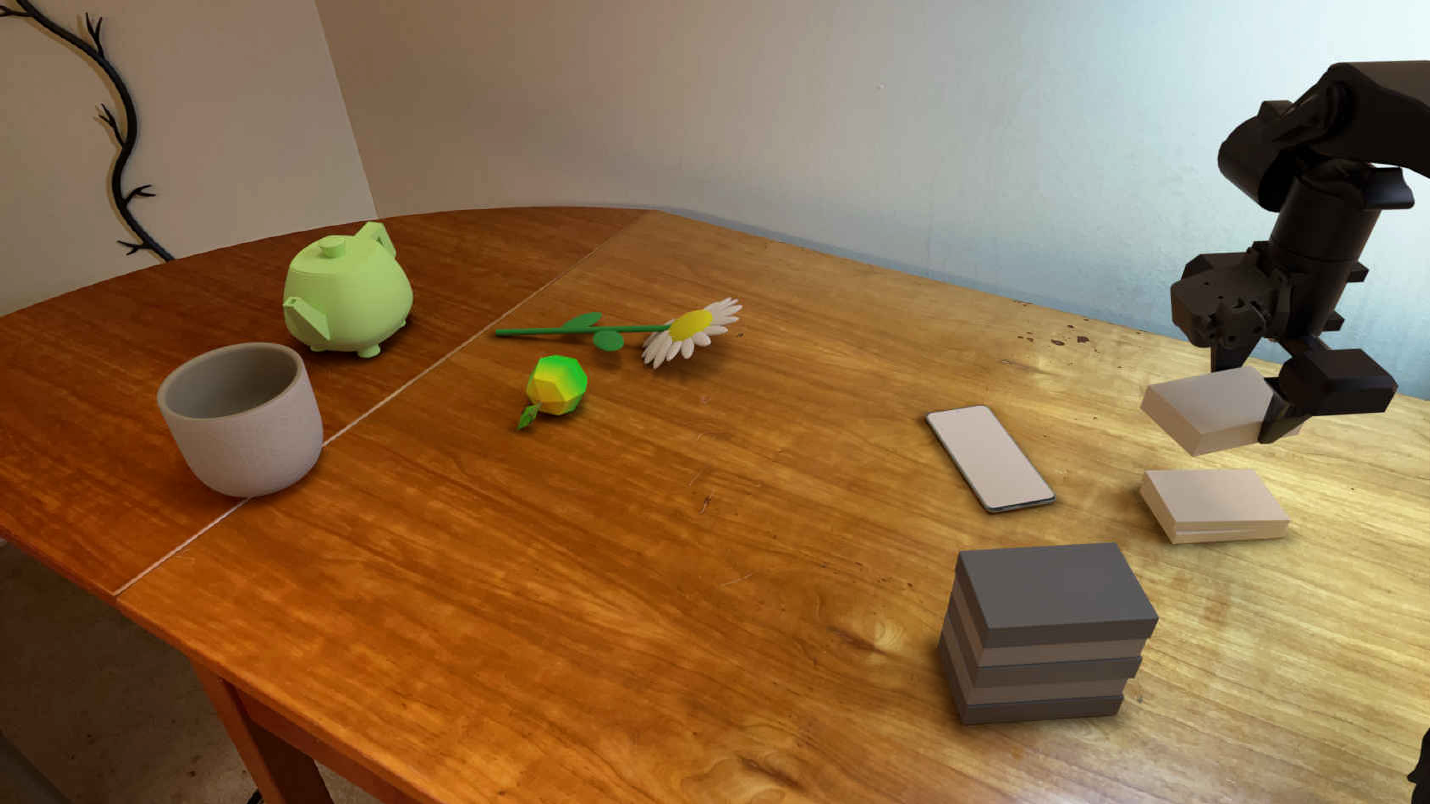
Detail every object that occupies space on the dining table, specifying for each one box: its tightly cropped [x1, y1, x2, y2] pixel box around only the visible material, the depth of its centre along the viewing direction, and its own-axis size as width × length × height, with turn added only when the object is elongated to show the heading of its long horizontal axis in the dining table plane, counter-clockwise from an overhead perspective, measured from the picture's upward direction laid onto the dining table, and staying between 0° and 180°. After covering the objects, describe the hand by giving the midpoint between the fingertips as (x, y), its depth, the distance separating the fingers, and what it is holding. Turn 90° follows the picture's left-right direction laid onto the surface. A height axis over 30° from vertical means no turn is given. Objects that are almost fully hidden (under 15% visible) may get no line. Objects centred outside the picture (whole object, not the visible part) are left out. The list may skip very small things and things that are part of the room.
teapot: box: [282, 221, 414, 359], centre depth 105 cm, size 20×13×13 cm
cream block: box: [1139, 365, 1305, 458], centre depth 73 cm, size 6×10×2 cm, turn 106°
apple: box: [517, 354, 588, 430], centre depth 95 cm, size 7×6×9 cm
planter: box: [156, 341, 324, 498], centre depth 86 cm, size 12×12×11 cm
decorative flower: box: [495, 297, 743, 370], centre depth 105 cm, size 13×5×30 cm
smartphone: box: [925, 404, 1057, 514], centre depth 90 cm, size 7×1×15 cm
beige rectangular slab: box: [1138, 468, 1292, 545], centre depth 83 cm, size 7×10×2 cm
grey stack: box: [937, 541, 1160, 726], centre depth 66 cm, size 7×12×11 cm, turn 94°
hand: (1239, 414), depth 74 cm, fingers closed on cream block, 7 cm apart
